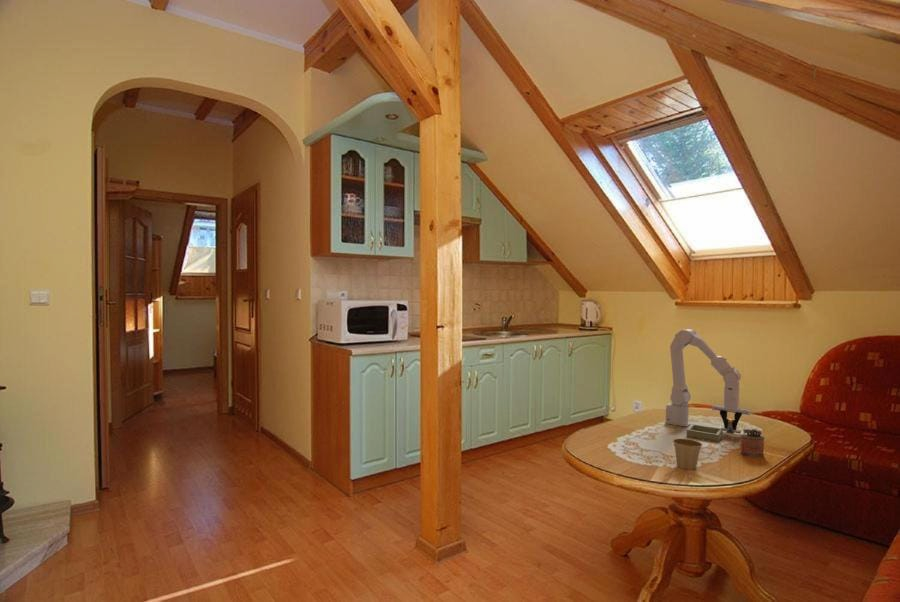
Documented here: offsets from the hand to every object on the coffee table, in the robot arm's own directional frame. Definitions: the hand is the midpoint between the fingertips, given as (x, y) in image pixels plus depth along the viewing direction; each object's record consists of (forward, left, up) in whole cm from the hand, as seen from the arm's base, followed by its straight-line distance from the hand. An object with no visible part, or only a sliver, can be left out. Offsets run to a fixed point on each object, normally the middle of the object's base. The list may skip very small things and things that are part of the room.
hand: (730, 428), depth 223 cm
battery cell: (0, 0, -2) cm, 2 cm away
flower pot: (-6, -60, -2) cm, 60 cm away
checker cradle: (0, 0, -2) cm, 2 cm away
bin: (-8, -13, -2) cm, 15 cm away
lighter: (+11, -30, -2) cm, 32 cm away
